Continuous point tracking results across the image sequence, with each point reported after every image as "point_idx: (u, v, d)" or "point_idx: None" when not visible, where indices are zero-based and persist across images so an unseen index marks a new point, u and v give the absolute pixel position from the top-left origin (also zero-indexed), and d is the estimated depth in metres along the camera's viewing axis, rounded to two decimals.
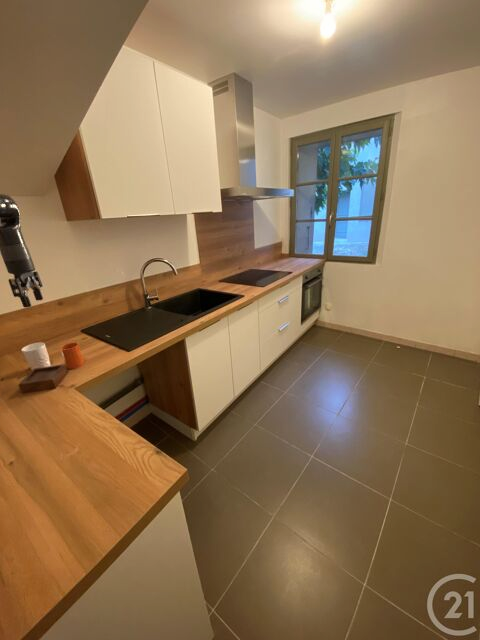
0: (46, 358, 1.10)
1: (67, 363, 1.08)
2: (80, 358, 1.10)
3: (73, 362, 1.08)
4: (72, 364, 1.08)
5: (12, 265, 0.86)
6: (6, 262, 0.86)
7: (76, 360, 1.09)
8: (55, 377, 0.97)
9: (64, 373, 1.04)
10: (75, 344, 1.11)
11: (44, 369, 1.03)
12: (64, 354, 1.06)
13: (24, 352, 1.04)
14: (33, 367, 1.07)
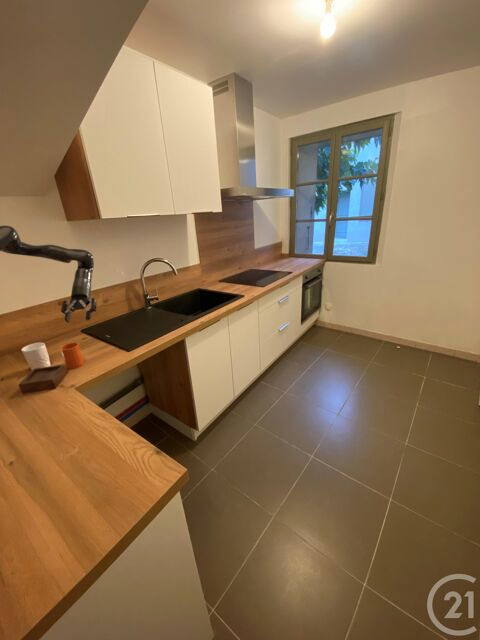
0: (46, 358, 1.10)
1: (67, 363, 1.08)
2: (80, 358, 1.10)
3: (73, 362, 1.08)
4: (72, 364, 1.08)
5: None
6: None
7: (76, 360, 1.09)
8: (55, 377, 0.97)
9: (64, 373, 1.04)
10: (75, 344, 1.11)
11: (44, 369, 1.03)
12: (64, 354, 1.06)
13: (24, 352, 1.04)
14: (33, 367, 1.07)
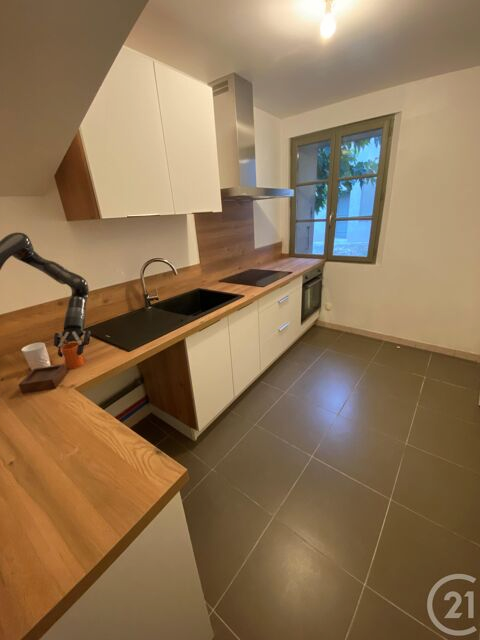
0: (46, 358, 1.10)
1: (67, 363, 1.08)
2: (80, 358, 1.10)
3: (73, 362, 1.08)
4: (72, 364, 1.08)
5: None
6: None
7: (76, 360, 1.09)
8: (55, 377, 0.97)
9: (64, 373, 1.04)
10: (75, 344, 1.11)
11: (44, 369, 1.03)
12: (64, 354, 1.06)
13: (24, 352, 1.04)
14: (33, 367, 1.07)
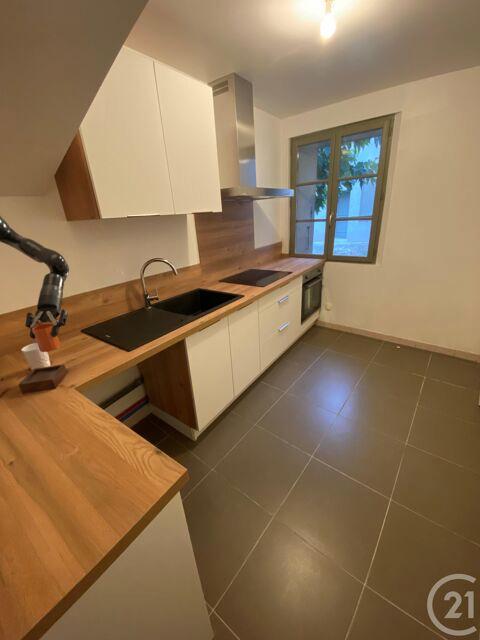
0: (46, 358, 1.10)
1: (40, 345, 0.97)
2: (55, 340, 0.99)
3: (47, 344, 0.97)
4: (46, 347, 0.97)
5: None
6: None
7: (51, 343, 0.98)
8: (55, 377, 0.97)
9: (64, 373, 1.04)
10: (50, 325, 1.01)
11: (44, 369, 1.03)
12: (36, 335, 0.95)
13: (24, 352, 1.04)
14: (33, 367, 1.07)
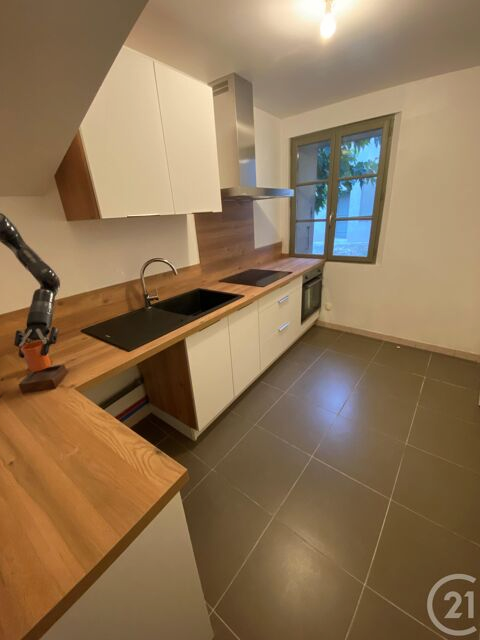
0: None
1: (29, 365, 0.94)
2: (45, 359, 0.96)
3: (36, 364, 0.94)
4: (35, 366, 0.94)
5: None
6: None
7: (41, 362, 0.95)
8: (55, 377, 0.97)
9: (64, 373, 1.04)
10: (40, 343, 0.97)
11: (44, 369, 1.03)
12: (25, 355, 0.92)
13: None
14: None
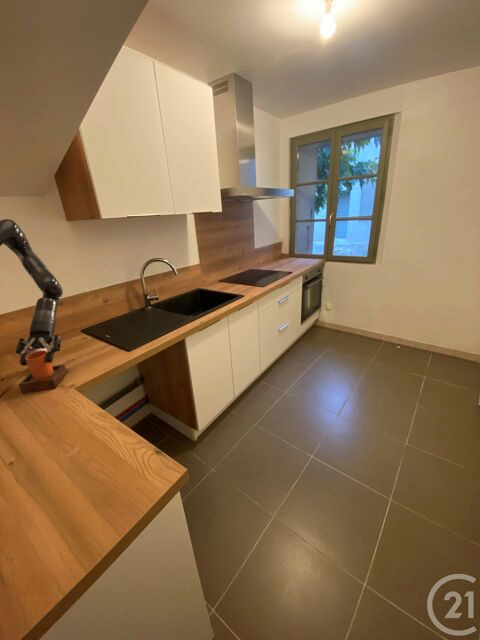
0: None
1: (33, 374, 0.95)
2: (49, 368, 0.97)
3: (40, 373, 0.95)
4: (39, 375, 0.95)
5: None
6: None
7: (44, 371, 0.96)
8: (55, 377, 0.97)
9: (64, 373, 1.04)
10: (43, 352, 0.99)
11: None
12: (29, 364, 0.94)
13: None
14: None
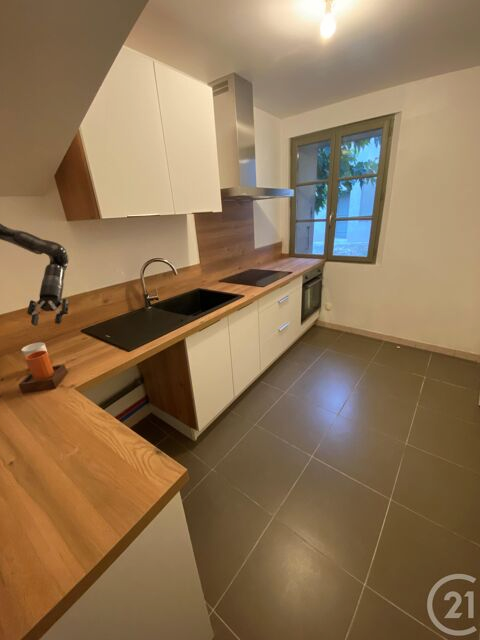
0: None
1: (33, 374, 0.95)
2: (49, 368, 0.97)
3: (40, 373, 0.95)
4: (39, 375, 0.95)
5: None
6: None
7: (44, 371, 0.96)
8: (55, 377, 0.97)
9: (64, 373, 1.04)
10: (43, 352, 0.99)
11: None
12: (29, 364, 0.94)
13: (24, 352, 1.04)
14: None
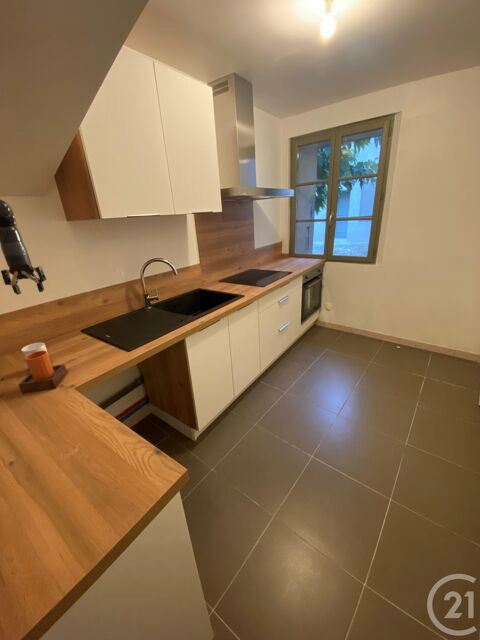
0: None
1: (33, 374, 0.95)
2: (49, 368, 0.97)
3: (40, 373, 0.95)
4: (39, 375, 0.95)
5: None
6: None
7: (44, 371, 0.96)
8: (55, 377, 0.97)
9: (64, 373, 1.04)
10: (43, 352, 0.99)
11: None
12: (29, 364, 0.94)
13: (24, 352, 1.04)
14: None
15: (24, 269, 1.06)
